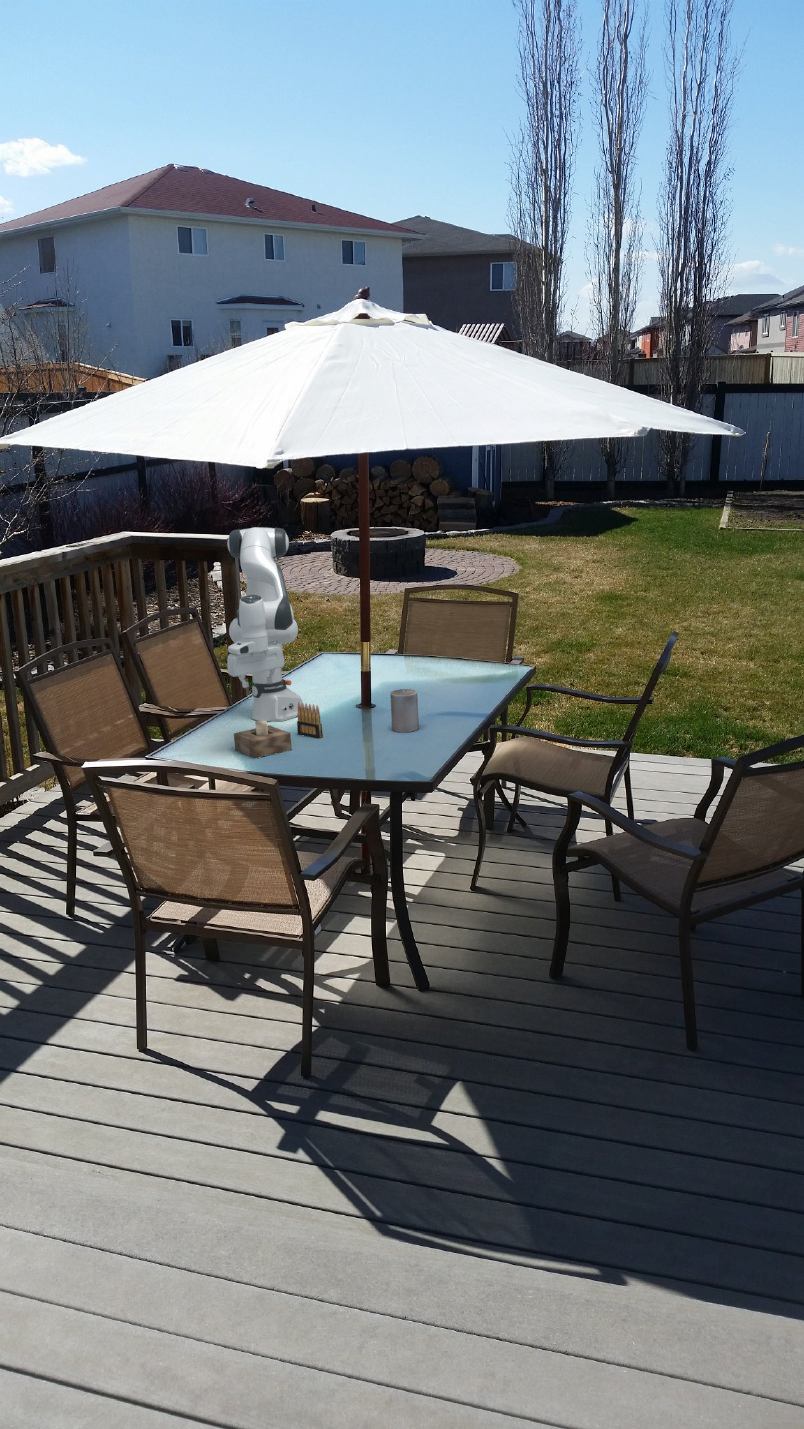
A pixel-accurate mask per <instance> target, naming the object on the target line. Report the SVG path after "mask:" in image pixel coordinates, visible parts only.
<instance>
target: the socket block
mask: <svg viewBox="0 0 804 1429" xmlns="http://www.w3.org/2000/svg"><path fill="white" fill-rule="evenodd" d="M267 726H268V735H264V736H260V737H258V736H256V727H255V728H251V729H247V730H243V731H239V732H235V733H233V738H234V739H233V740H234V741H233V742H234V748H235V749H234V750H235V751H236V752H238V751H239V753H241V754H243V753H244V755H246V756H248V755H249V757H250V758H253V759H255V758H257V759H260V758H259V757H261V758H263V757H262V756H265V755H269V756H271V755H270V754H273V755H276V754H275V753H277V754H280V753H285V752H289V751H292V750H293V749H292V738H291V736H292V734H291V732H288V731H286V730H283V729H281V728H277V727H274V726H272V725H269V724H268V725H267ZM265 757H266V756H265Z"/></svg>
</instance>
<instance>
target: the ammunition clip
mask: <svg viewBox="0 0 804 1429" xmlns="http://www.w3.org/2000/svg"><path fill="white" fill-rule="evenodd" d="M304 707H305V708H304ZM308 711H309V712H308ZM320 714H321V713H320V708H319V705H318V704H316V707H315V704H312V705H311V703H309V705H308V703H307V702H305V704H304V702H303V703H302V705H300V703H299V702H298V713H297V715H298V716H297V721H296V726H297V735H298V736H302V735H304V736H303V737H308V738H313V739H319V740H320V739H322V738H324V734H323V723H321V721H322V720H321V715H320Z"/></svg>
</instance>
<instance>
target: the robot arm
mask: <svg viewBox="0 0 804 1429" xmlns="http://www.w3.org/2000/svg"><path fill="white" fill-rule="evenodd" d="M226 543H227V549H228V551H229V553H230V556H232V557H233V558H236V559H239V561H240V562H239V563H240V567H241V571H242V572H243V574H245V576H246V595H244V596H242V597H241V598H240V599H239V606H238V609H237V611H236V618H234V619H233V620H232V621H231V622H230V625H229V628H228V632H229V633H228V634H229V637H230V639H231V640H232V641H233V643H232V644H231V645H228V647H227V651H228V653H229V654H228V656H227V674H228V675H229V676H231V677H234V678H236V677H238V679H239V680H240V682H241V685H242V688H243V689H246V688H250V685H249V684H250V682H248V681H246V680H245V679H246V675H251V676H252V681H251V688H252V689H251V691H252V697H253V701H252V702H253V704H252V705H253V706H252V713H251V719H252V720H254V721H260V720H265V721H267V722H272V721H273V722H276V721H277V722H283V721H287V720H290V719H294V718H297V717H298V715H297V713H298V702H299V703H300V705H302V703H303V704H304V702H303V700H302V697H301V696H300V695H299V694H297V693H296V692H295V691H292V690H291V689H289V688H288V687H287V686H291V685H292V681H291V680H290V679H284V678H283V674H282V668H284V667H285V657H284V653H283V645H284V644H289V643H293V642H294V641H295V640H296V638H297V637H298V633H299V627H298V623H297V621H296V620H295V619H294V618H295V616H294V610H293V607H292V604H291V602H290V599H289V594H288V593H289V592H288V589H287V586H286V585H287V584H286V582H285V577H284V573H283V570H282V568H281V566H280V565H279V563H276V562H275V559H274V558H276V560H277V561H279V560H280V558H282V557H284V556H285V555H286V554H287V552H288V549H289V546H290V540H289V536H288V535H287V531H286V530H285V529H284V528H280V527H274V528H273V527H258V526H257V527H251V528H243V529H240V528H238V529H234V530H232V531H230V532H229V536H228V538H227V542H226ZM304 708H305V706H304ZM308 712H309V711H308ZM296 716H297V717H296Z"/></svg>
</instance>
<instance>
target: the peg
mask: <svg viewBox="0 0 804 1429" xmlns="http://www.w3.org/2000/svg"><path fill="white" fill-rule="evenodd" d="M254 726H255V728H256V736H258V737H260V736H264V735H268V726H269V725H268V721H265V720H260V721H258V720H255V724H254Z"/></svg>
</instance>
